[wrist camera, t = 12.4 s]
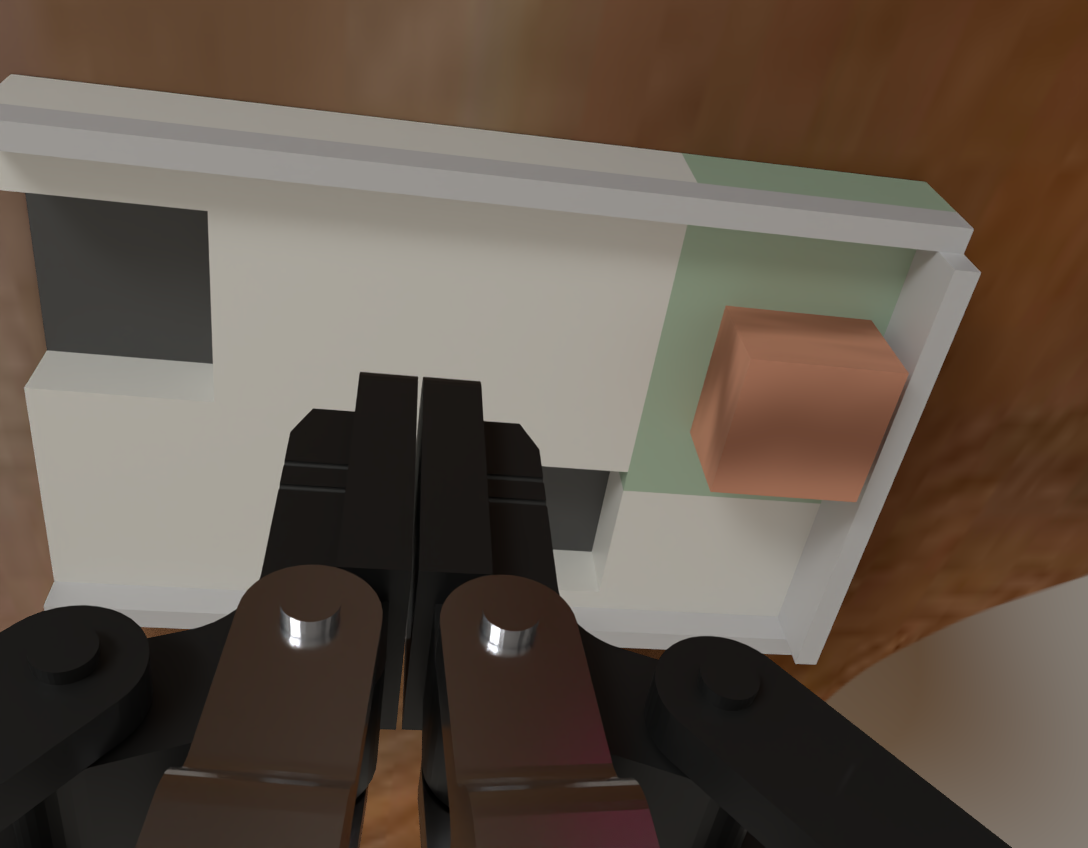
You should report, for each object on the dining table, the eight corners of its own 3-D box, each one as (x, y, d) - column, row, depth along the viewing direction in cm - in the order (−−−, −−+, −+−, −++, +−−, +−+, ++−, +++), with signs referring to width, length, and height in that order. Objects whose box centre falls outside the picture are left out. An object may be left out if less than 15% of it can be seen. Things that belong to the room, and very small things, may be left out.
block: (725, 305, 40) (751, 358, 37) (871, 320, 41) (909, 373, 38) (689, 432, 43) (710, 491, 40) (825, 443, 44) (856, 502, 41)
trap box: (11, 74, 36) (-57, 132, 31) (925, 181, 41) (992, 246, 36) (76, 552, 48) (34, 648, 43) (775, 589, 53) (809, 679, 48)
